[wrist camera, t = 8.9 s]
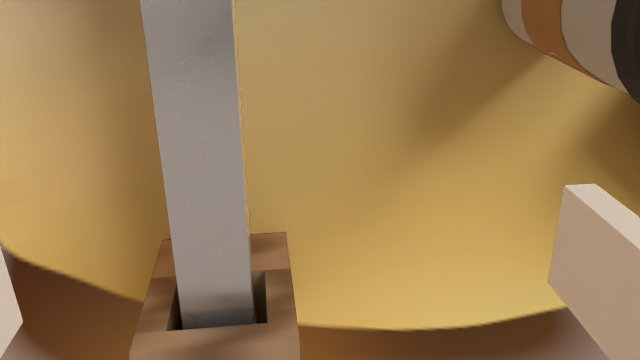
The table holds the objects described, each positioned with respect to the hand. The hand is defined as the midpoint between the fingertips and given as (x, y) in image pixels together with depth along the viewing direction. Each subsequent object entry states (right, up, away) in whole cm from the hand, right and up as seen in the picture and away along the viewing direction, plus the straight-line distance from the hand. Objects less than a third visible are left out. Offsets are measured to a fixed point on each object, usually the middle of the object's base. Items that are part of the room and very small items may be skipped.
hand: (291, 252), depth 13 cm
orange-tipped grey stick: (-5, +4, +15) cm, 16 cm away
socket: (-6, -5, +24) cm, 25 cm away
